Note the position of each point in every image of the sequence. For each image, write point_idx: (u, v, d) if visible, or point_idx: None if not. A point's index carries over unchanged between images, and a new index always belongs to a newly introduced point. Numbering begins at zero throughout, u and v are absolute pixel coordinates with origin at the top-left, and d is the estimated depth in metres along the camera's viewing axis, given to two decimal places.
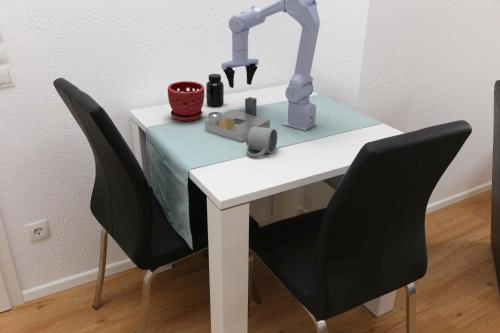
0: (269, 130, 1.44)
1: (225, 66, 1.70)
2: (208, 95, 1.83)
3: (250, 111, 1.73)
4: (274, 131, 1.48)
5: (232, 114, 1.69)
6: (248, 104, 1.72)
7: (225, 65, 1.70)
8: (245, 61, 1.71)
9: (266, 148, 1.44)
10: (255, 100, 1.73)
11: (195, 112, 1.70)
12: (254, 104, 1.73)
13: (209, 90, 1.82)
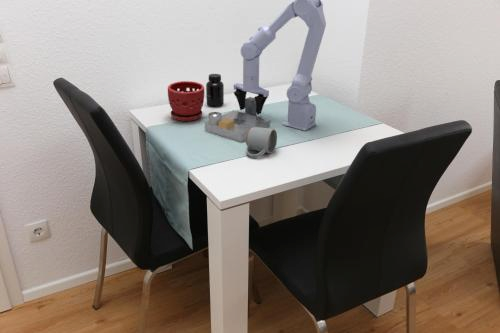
0: (269, 130, 1.44)
1: (234, 86, 1.74)
2: (208, 95, 1.83)
3: (250, 111, 1.73)
4: (274, 131, 1.47)
5: (232, 114, 1.69)
6: (248, 104, 1.72)
7: (234, 85, 1.74)
8: (247, 88, 1.68)
9: (266, 148, 1.43)
10: None
11: (195, 112, 1.70)
12: (254, 104, 1.73)
13: (209, 90, 1.82)
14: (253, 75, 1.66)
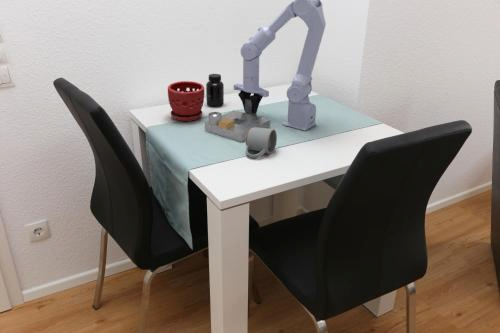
0: (268, 131, 1.44)
1: (234, 87, 1.74)
2: (208, 95, 1.83)
3: (250, 111, 1.73)
4: (273, 132, 1.47)
5: (232, 114, 1.69)
6: (248, 104, 1.72)
7: (234, 86, 1.74)
8: (247, 88, 1.68)
9: (265, 149, 1.43)
10: None
11: (195, 112, 1.70)
12: None
13: (209, 90, 1.82)
14: (253, 75, 1.66)
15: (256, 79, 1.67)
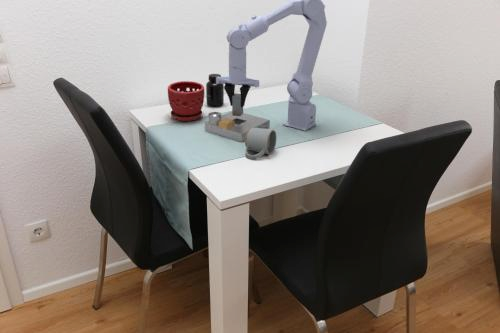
0: (268, 131, 1.43)
1: (217, 80, 1.57)
2: (208, 95, 1.83)
3: (239, 108, 1.59)
4: (273, 132, 1.47)
5: None
6: (236, 101, 1.58)
7: (217, 79, 1.57)
8: (236, 80, 1.54)
9: (265, 149, 1.43)
10: None
11: (195, 112, 1.70)
12: None
13: (209, 90, 1.82)
14: (244, 65, 1.52)
15: (245, 69, 1.53)
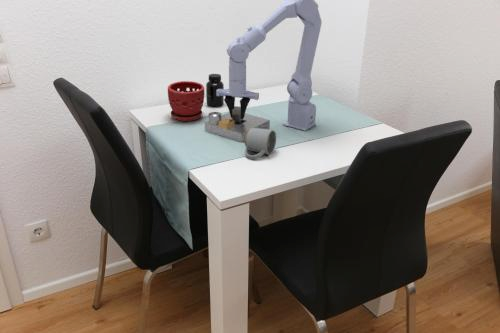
0: (268, 131, 1.43)
1: (217, 93, 1.59)
2: (208, 95, 1.83)
3: (239, 121, 1.61)
4: (273, 132, 1.47)
5: None
6: (236, 114, 1.60)
7: (217, 92, 1.59)
8: (236, 93, 1.55)
9: (265, 149, 1.43)
10: None
11: (195, 112, 1.70)
12: None
13: (209, 90, 1.82)
14: (244, 78, 1.54)
15: (245, 82, 1.55)
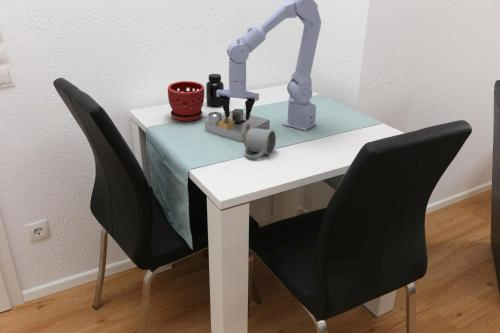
0: (267, 132, 1.43)
1: (217, 93, 1.59)
2: (208, 95, 1.83)
3: (239, 123, 1.62)
4: (272, 133, 1.46)
5: None
6: (236, 116, 1.61)
7: (217, 92, 1.59)
8: (236, 93, 1.56)
9: (264, 150, 1.43)
10: (242, 111, 1.62)
11: (195, 112, 1.70)
12: (242, 116, 1.62)
13: (209, 90, 1.82)
14: (244, 78, 1.54)
15: (245, 82, 1.55)
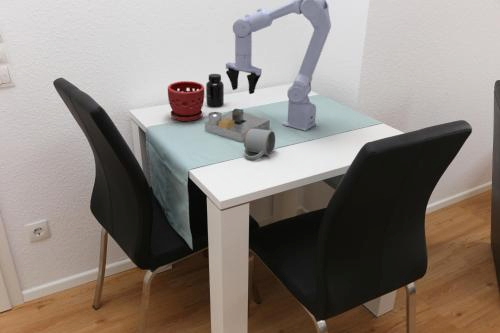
0: (267, 132, 1.43)
1: (226, 66, 1.70)
2: (208, 95, 1.83)
3: (239, 123, 1.62)
4: (272, 133, 1.46)
5: None
6: (236, 116, 1.61)
7: (226, 65, 1.70)
8: (240, 66, 1.64)
9: (264, 150, 1.42)
10: (242, 111, 1.62)
11: (195, 112, 1.70)
12: (242, 116, 1.62)
13: (209, 90, 1.82)
14: (246, 53, 1.62)
15: (248, 57, 1.63)
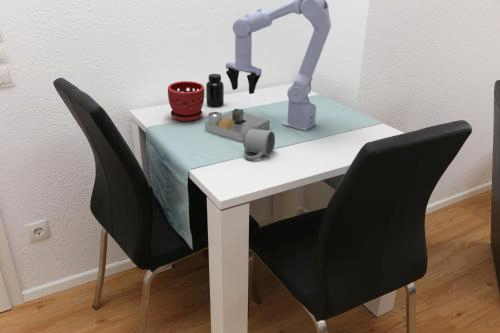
0: (266, 132, 1.42)
1: (227, 66, 1.70)
2: (208, 95, 1.83)
3: (239, 123, 1.62)
4: (272, 133, 1.46)
5: None
6: (236, 116, 1.61)
7: (226, 65, 1.70)
8: (240, 66, 1.64)
9: (263, 151, 1.42)
10: (242, 111, 1.62)
11: (195, 112, 1.70)
12: (242, 116, 1.62)
13: (209, 90, 1.82)
14: (246, 53, 1.62)
15: (248, 57, 1.63)
